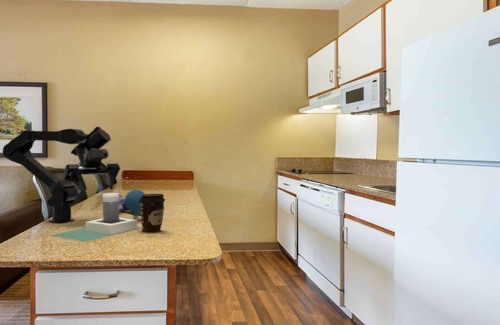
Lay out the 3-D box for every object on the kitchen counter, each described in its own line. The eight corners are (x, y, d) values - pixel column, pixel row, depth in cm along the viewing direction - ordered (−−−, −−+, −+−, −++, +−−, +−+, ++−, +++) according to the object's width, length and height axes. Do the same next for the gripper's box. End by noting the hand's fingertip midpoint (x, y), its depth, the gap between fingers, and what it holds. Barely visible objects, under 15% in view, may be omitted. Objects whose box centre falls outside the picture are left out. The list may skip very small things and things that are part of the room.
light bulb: (140, 223, 151) (141, 191, 150) (120, 221, 152) (120, 190, 152) (150, 219, 159) (151, 189, 158) (131, 218, 160) (131, 188, 160)
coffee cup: (170, 232, 135) (170, 193, 135) (156, 237, 127) (156, 196, 127) (147, 230, 138) (148, 192, 137) (133, 235, 130) (133, 195, 130)
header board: (49, 238, 123) (49, 225, 123) (109, 225, 145) (109, 214, 145) (86, 244, 116) (86, 231, 116) (143, 230, 138) (143, 218, 137)
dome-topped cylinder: (100, 230, 132) (99, 194, 131) (111, 227, 136) (110, 192, 136) (111, 231, 129) (110, 194, 129) (122, 228, 134) (121, 193, 133)
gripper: (65, 140, 137) (77, 174, 129) (118, 141, 149) (131, 173, 142) (58, 162, 143) (69, 196, 135) (109, 162, 155) (121, 193, 148)
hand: (99, 189), depth 140 cm, fingers open, 9 cm apart
